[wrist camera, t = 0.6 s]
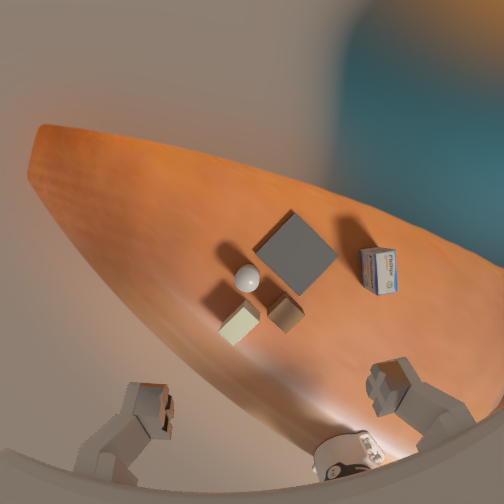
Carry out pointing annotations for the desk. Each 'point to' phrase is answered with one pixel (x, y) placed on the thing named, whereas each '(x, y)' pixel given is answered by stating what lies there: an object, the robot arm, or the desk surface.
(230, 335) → the sage brick
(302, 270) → the charcoal pad
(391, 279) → the medicine box
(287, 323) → the walnut cube
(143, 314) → the desk surface
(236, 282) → the grey plastic egg
